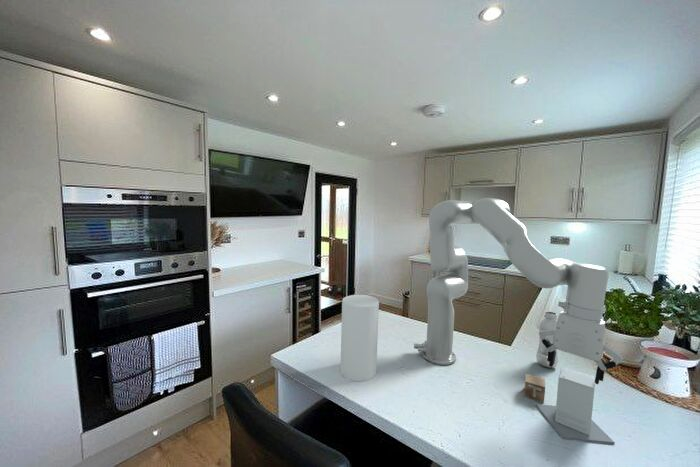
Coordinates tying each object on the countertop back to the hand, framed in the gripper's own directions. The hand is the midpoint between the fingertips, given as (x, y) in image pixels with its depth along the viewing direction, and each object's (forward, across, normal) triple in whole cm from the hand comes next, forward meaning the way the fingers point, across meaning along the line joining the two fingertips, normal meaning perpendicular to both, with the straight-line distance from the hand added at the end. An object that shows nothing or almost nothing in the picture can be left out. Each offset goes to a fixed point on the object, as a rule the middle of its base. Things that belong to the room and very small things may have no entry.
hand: (573, 372), depth 75 cm
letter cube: (+14, -9, +6) cm, 18 cm away
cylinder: (+16, -54, -26) cm, 62 cm away
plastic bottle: (+15, -10, +29) cm, 34 cm away
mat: (+14, +1, 0) cm, 14 cm away
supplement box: (+14, +1, 0) cm, 14 cm away
